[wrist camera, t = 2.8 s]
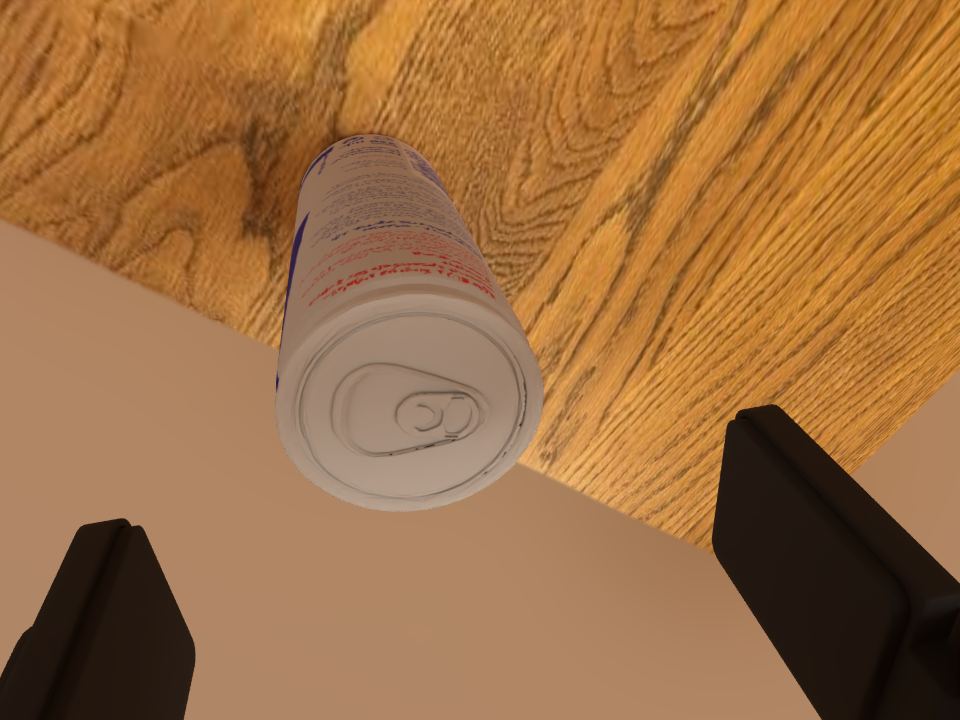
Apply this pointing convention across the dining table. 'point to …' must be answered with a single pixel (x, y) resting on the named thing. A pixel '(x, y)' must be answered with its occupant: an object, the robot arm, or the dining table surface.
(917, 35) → the dining table surface
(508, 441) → the beverage can
